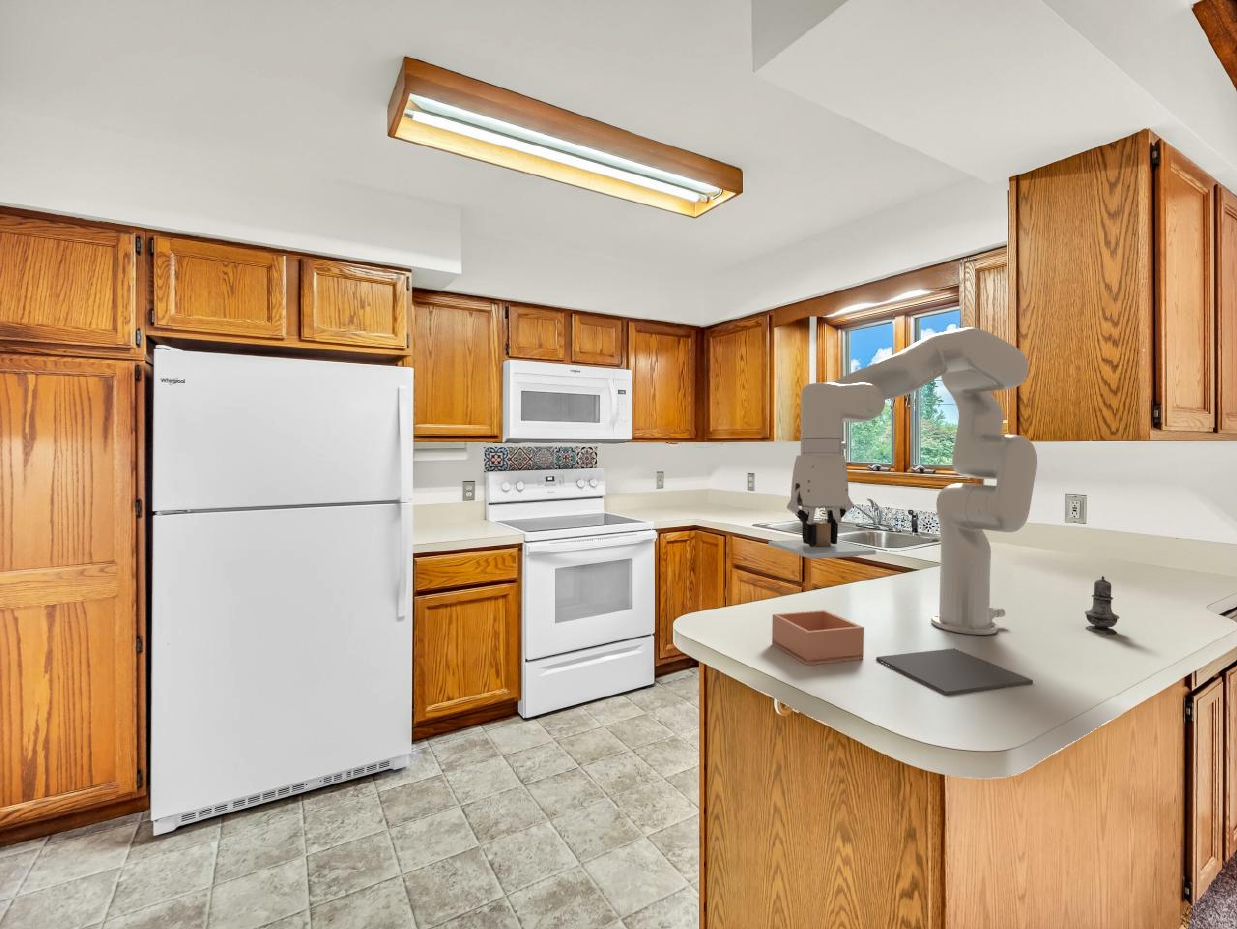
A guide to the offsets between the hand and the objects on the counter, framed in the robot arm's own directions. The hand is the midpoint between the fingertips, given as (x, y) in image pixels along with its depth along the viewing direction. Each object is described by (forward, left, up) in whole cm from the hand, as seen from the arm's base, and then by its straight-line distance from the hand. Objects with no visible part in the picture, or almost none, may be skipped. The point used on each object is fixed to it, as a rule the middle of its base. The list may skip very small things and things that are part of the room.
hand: (819, 542), depth 113 cm
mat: (-17, +15, -21) cm, 31 cm away
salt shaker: (-68, +5, -21) cm, 71 cm away
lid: (0, 0, -1) cm, 1 cm away
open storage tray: (0, 0, -21) cm, 21 cm away
